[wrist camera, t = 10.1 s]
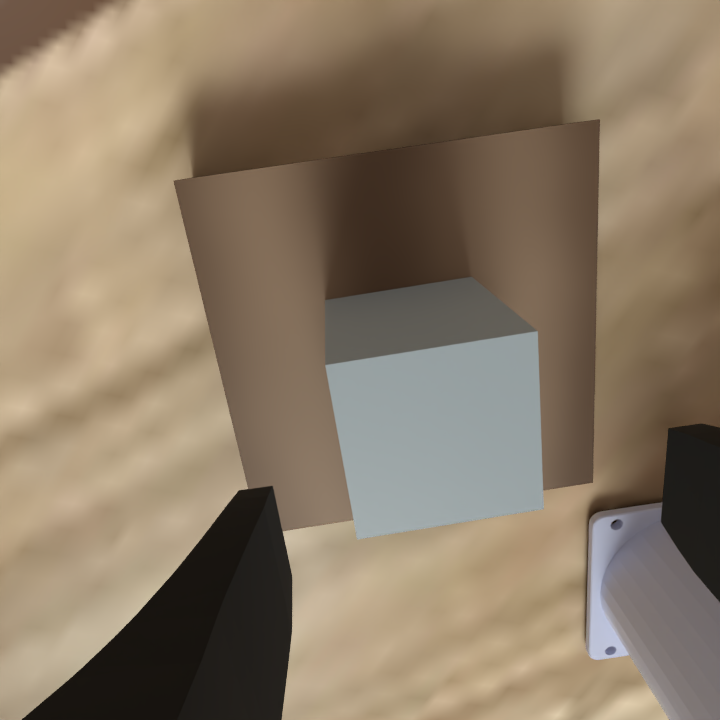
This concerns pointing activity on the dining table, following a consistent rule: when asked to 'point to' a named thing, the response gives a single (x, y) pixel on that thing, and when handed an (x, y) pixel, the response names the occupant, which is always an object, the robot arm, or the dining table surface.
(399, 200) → the walnut block
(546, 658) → the dining table surface
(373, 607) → the dining table surface
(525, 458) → the grey block
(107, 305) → the dining table surface
